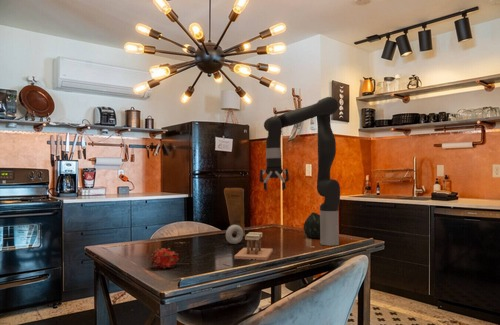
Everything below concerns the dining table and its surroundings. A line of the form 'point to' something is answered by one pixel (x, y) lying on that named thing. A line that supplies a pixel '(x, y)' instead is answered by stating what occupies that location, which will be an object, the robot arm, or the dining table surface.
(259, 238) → the stool
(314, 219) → the squash
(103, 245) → the dining table surface
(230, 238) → the donut
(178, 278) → the dining table surface
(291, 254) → the dining table surface
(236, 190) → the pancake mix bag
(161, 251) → the dragon fruit
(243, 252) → the mat
